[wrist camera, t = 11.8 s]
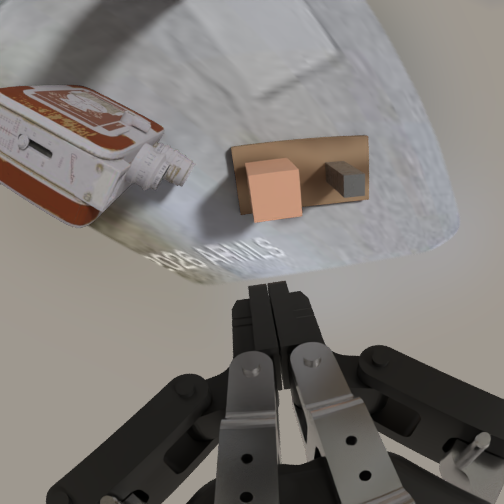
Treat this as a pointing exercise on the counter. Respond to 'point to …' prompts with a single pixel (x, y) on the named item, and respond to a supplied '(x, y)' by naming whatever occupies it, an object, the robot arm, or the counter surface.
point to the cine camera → (79, 150)
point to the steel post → (345, 179)
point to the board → (305, 165)
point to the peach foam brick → (274, 189)
